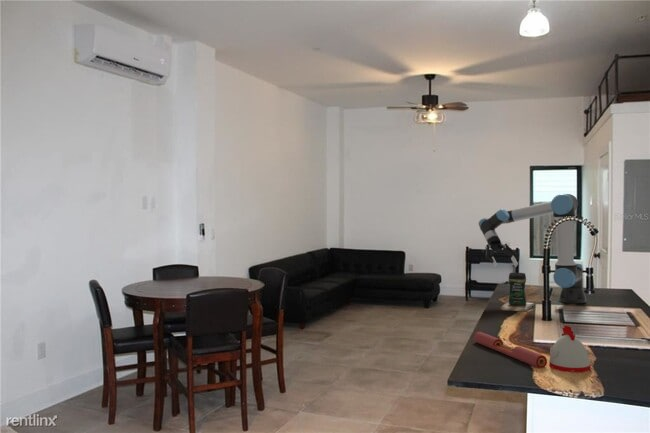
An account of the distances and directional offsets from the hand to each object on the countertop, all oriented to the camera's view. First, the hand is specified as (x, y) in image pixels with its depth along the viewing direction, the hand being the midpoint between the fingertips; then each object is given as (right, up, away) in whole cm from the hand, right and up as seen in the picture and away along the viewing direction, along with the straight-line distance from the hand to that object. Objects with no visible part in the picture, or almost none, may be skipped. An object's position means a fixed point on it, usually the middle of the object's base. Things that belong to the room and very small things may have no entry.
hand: (506, 265), depth 334 cm
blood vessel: (-34, -27, -107) cm, 115 cm away
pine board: (+3, -23, -10) cm, 25 cm away
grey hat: (-17, -26, -126) cm, 130 cm away
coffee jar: (+3, -22, -10) cm, 24 cm away
